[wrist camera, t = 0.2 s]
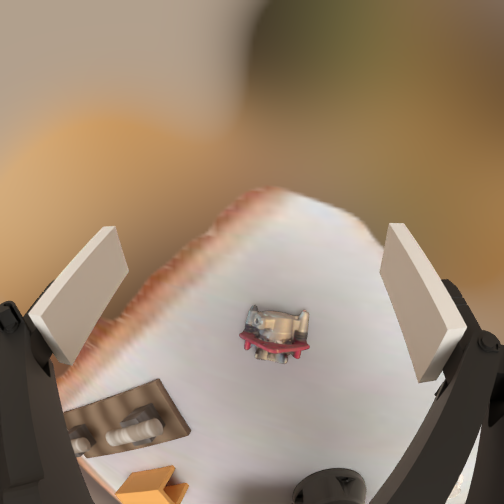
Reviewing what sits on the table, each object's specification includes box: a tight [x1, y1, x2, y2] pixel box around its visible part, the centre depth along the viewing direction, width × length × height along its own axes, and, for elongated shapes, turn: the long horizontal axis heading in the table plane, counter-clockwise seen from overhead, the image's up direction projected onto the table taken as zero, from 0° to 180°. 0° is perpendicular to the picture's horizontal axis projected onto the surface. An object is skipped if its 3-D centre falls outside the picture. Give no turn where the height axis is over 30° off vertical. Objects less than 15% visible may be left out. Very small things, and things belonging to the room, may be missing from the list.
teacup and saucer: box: [447, 474, 463, 500], centre depth 40 cm, size 9×8×4 cm
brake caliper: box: [239, 305, 310, 364], centre depth 45 cm, size 11×10×11 cm
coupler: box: [115, 465, 189, 504], centre depth 44 cm, size 12×6×9 cm, turn 117°
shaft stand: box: [63, 379, 191, 458], centre depth 45 cm, size 30×12×10 cm, turn 117°
